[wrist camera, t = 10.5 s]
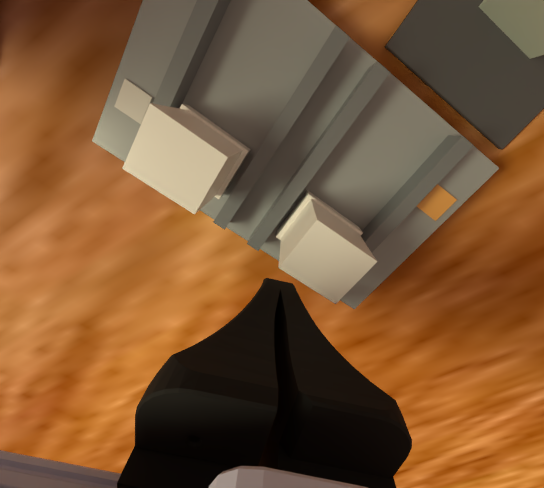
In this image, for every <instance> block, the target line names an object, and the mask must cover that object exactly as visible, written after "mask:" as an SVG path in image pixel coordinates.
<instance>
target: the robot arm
mask: <svg viewBox="0 0 544 488" xmlns="http://www.w3.org/2000/svg"><path fill="white" fill-rule="evenodd" d="M411 447H412V439H411V437H410V434H409V432H408V429H407V426H406V423H405V421H404V418H403V415H402V413H401V411H400V409H399V407H398V405H397V403H396V400H394V399H393V398H392V397H390V396H389V395H388V394H386V393H385V392H384V391H382V390H381V389H380V388H378V387H377V386H376V385H374V384H373V383H372V382H370V381H369V380H368V379H367V378H366V377H364V376H363V375H362V374H361V373H360V372H359V371H357V370H356V369H355V368H354V367H353V366H352V365H351V364H350V363H349V362H348V361H347V360H346V359H345V358H344V357H343V356H342V355H341V354H340V353H339V352H338V351H337V350H336V349H335V348H334V347H333V346H332V345H331V344H330V342H329V341H328V340H327V339H326V337H325V336H324V335H323V334H322V333H321V331H320V330H319V329H318V327H317V326H316V324H315V323H314V321H313V320H312V318H311V317H310V315H309V313H308V311H307V310H306V308H305V306H304V304H303V303H302V301H301V299H300V297H299V295H298V293H297V291H296V289H295V286H294V285H293V284H292V283H287V282H283V281H278V280H274V279H269V278H266V279H264V281H263V283H262V286H261V287H260V289H259V291H258V292H257V293H256V295H255V296H254V297H253V299H252V300H251V301H250V302H249V303H248V305H247V306H246V307H245V308H244V309H243V310H242V311H241V312H240V313H239V314H238V315H237V316H236V317H235V318H234V319H232V320H231V321H230V322H229V323H228V324H226V325H225V326H224V327H222V328H221V329H220V330H218V331H217V332H215V333H214V334H212V335H211V336H209V337H207V338H206V339H204V340H202V341H201V342H199V343H197V344H195V345H193V346H191V347H189V348H187V349H185V350H183V351H181V352H178V353H176V354H173V355H172V356H171V357H170V358H169V359H168V360H167V362H166V363H165V364H164V365H163V366H162V368H161V369H160V370H159V372H158V373H157V374H156V376H155V377H154V379H153V380H152V381H151V383H150V384H149V386H148V388H147V390H146V391H145V393H144V395H143V397H142V399H141V401H140V402H139V404H138V406H137V410H136V414H135V447H134V449H133V451H132V453H131V455H130V457H129V459H128V461H127V463H126V465H125V467H124V469H123V471H122V473H121V474H119V473H114V472H109V471H104V470H99V469H94V468H89V467H83V466H78V465H73V464H68V463H63V462H58V461H52V460H47V459H42V458H37V457H32V456H27V455H22V454H16V453H11V452H6V451H1V450H0V488H396V485H395V482H394V478H393V476H394V475H395V473H396V472H397V471H398V469H399V468H400V466H401V465H402V464H403V462H404V461H405V460H406V458H407V456H408V454H409V452H410V450H411Z"/></svg>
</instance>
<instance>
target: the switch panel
mask: <svg viewBox="0 0 544 488" xmlns="http://www.w3.org/2000/svg"><path fill="white" fill-rule="evenodd" d="M150 103H152V104H157V105H163V106H168V107H174V108H179V109H180V107H181V105H182V104H185V105H189V106H191V107H192V108H193V109H195V110H196V111H198V112H199V113H200V114H202V115H203V116H205V117H206V118H207V119H209V120H210V121H212V122H213V123H214V124H216V125H217V126H218V127H220V128H221V129H223V130H224V131H225V132H227V133H228V134H230V135H231V136H232V137H234V138H235V139H237V140H238V141H239V142H241V143H242V144H244V145H245V146H246V147H248V148H249V149H251V151H250V152H249V154H248V156H247V157H246V159H245V161H244V162H243V164H242V165H241V167H240V169H239V170H238V172H237V174H236V175H235V177H234V178H233V180H232V182H231V183H230V185H229V187H228V188H227V190H226V192H225V193H224V195H223V196H222V197H221V198H220V199H217V198H216V197H213V198H212V199H211V200H210V201H209V202H208V203H207V204H206V205H205V206H203V207H202V208H201V209H200V211H202V212H203V213H205V214H207V215H208V216H210V217H211V218H213V219H214V223H215V224H217V225H218V226H220V227H221V228H223V229H225V228H226V227H227V228H228V229H230V230H232V231H233V232H235V233H236V234H238V235H239V236H241V237H242V238H244V239H246V240H247V241H248V243H247V244H248V245H250V246H251V247H253V248H254V249H256V250H258V251H259V249H261V250H263V251H264V252H266V253H267V254H269V255H271V256H272V257H274V258H275V259H277V260H278V261H279V256H280V243H281V240H279V239H278V238H276V234H277V230H278V229H279V227H280V226H281V225H282V223H283V222H284V221H285V219H286V218H287V217H288V215H289V214H290V213H291V211H292V210H293V209H294V207H295V206H296V205H297V203H298V202H299V201H300V199H301V198H302V197H303V195H304V194H305V193H306V191H307V190H308V191H309V192H311V193H312V194H314V195H315V196H316V197H318V198H319V199H321V200H322V201H323V202H325V203H326V204H328V205H329V206H330V207H332V208H333V209H334V210H336V211H337V212H339V213H340V214H341V215H343V216H344V217H346V218H347V219H348V220H350V221H351V222H353V223H354V224H355V225H357V226H358V227H359V228H360V229H361V231H362V232H363V234H362V235H361V237H362V239H363V240H364V242H365V243H366V245H367V247H368V248H369V250H370V251H371V253H372V254H373V256H374V257H375V259H376V260H377V263H376V264H375V265H374V266H373V267H372V268H371V269H370V270H369V271H368V272H367V273H366V274H365V275H364V276H363V277H362V278H361V279H360V280H359V281H358V282H357V283H356V284H355V285H354V286H353V287H352V288H351V289H350V290H349V291H348V292H347V293H346V294H345V295H344V296H343V297H342V298H341V299H340V300H341V301H342V302H344V303H345V304H347V305H349V306H350V307H352V308H353V309H355V308H356V307H357V306H358V305H359V304H360V303H361V302H362V301H363V300H364V299H365V298H366V297H367V296H369V295H370V294H371V293H372V292H373V291H374V290H375V289H376V288H377V287H378V286H379V285H380V284H381V283H382V282H383V281H384V280H385V279H386V278H387V277H388V276H389V275H390V274H391V273H392V272H393V271H394V270H395V269H396V268H397V267H398V266H399V265H400V264H401V263H402V262H403V261H405V260H406V259H407V258H408V257H409V256H410V255H411V254H412V253H413V252H414V251H415V250H416V249H417V248H418V247H419V246H420V245H421V244H422V243H423V242H424V241H425V240H426V239H427V238H428V237H429V236H430V235H431V234H432V233H433V232H434V231H435V230H436V229H437V228H438V227H440V226H441V225H442V224H443V223H444V222H445V221H446V220H447V219H448V218H449V217H450V216H451V215H452V214H453V213H454V212H455V211H456V210H457V209H458V208H459V207H460V206H461V205H462V204H463V203H464V202H465V201H466V200H467V199H468V198H469V197H470V196H471V195H472V194H473V193H474V192H476V191H477V190H478V189H479V188H480V187H481V186H482V185H483V184H484V183H485V182H486V181H487V180H488V179H489V178H490V177H491V176H492V175H493V174H494V173H495V172H496V171H497V170H498V169H499V167H497V166H496V165H495V164H494V163H493V162H492V161H491V160H489V159H488V158H487V157H486V156H485V155H484V154H483V153H481V152H480V151H479V150H478V149H477V148H476V147H475V146H474V145H473V144H472V143H470V142H469V141H468V140H467V139H466V138H465V137H464V136H462V135H461V134H460V133H459V132H457V131H456V130H455V129H454V128H453V127H452V126H451V125H449V124H448V123H447V122H446V121H445V120H444V119H443V118H441V117H440V116H439V115H438V114H437V113H436V112H435V111H433V110H432V109H431V108H430V107H429V106H428V105H427V104H425V103H424V102H423V101H422V100H421V99H420V98H419V97H417V96H416V95H415V94H414V93H413V92H412V91H411V90H409V89H408V88H407V87H406V86H405V85H404V84H403V83H401V82H400V81H399V80H398V79H397V78H396V77H395V76H393V75H392V74H391V73H390V72H389V71H388V70H387V69H386V68H385V67H383V66H382V65H381V64H380V63H379V62H378V61H376V60H375V59H374V58H373V57H372V56H370V55H369V54H368V53H367V52H366V51H365V50H364V49H362V48H361V47H360V46H359V45H358V44H357V43H356V42H354V41H353V40H352V39H351V38H350V37H349V36H348V35H347V34H346V33H345V32H343V31H342V30H341V29H340V28H339V27H338V26H337V25H335V24H334V23H333V22H332V21H330V20H329V19H328V18H327V17H326V16H325V15H324V14H322V13H321V12H320V11H319V10H318V9H317V8H316V7H314V6H313V5H312V4H311V3H310V2H309V1H308V0H143V1H142V4H141V7H140V9H139V12H138V15H137V18H136V21H135V23H134V26H133V29H132V32H131V34H130V37H129V40H128V43H127V46H126V48H125V51H124V54H123V57H122V59H121V62H120V65H119V68H118V71H117V73H116V76H115V79H114V82H113V84H112V87H111V90H110V93H109V96H108V98H107V101H106V104H105V107H104V109H103V112H102V115H101V118H100V121H99V123H98V126H97V129H96V132H95V135H94V137H93V140H92V141H93V142H94V143H96V144H97V145H99V146H100V147H102V148H104V149H105V150H107V151H108V152H110V153H111V154H113V155H115V156H116V157H118V158H119V159H121V160H122V161H124V162H125V161H126V159H127V156H128V154H129V151H130V149H131V147H132V144H133V142H134V140H135V137H136V135H137V133H138V130H139V128H140V126H141V123H142V121H143V118H144V116H145V114H146V111H147V109H148V107H149V104H150Z"/></svg>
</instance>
